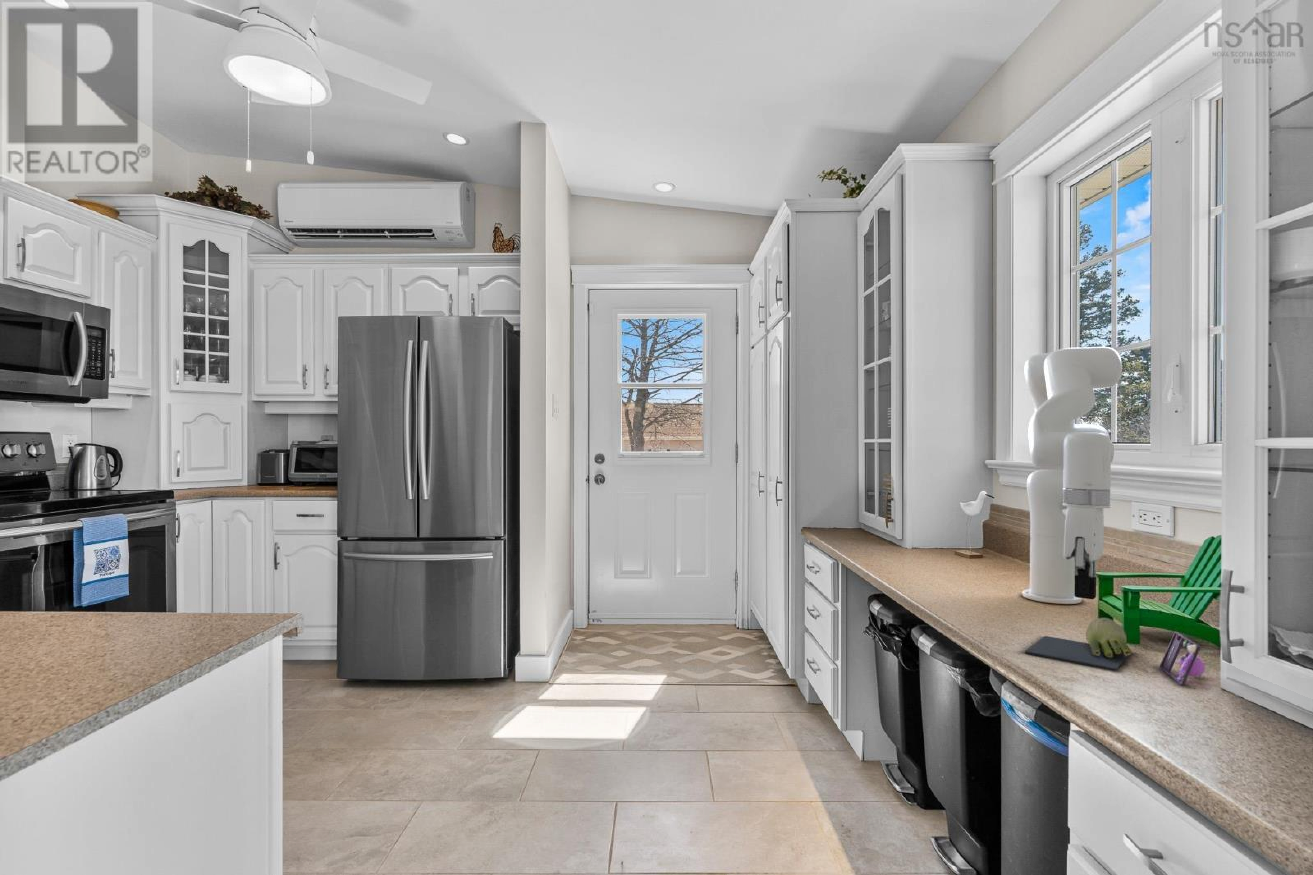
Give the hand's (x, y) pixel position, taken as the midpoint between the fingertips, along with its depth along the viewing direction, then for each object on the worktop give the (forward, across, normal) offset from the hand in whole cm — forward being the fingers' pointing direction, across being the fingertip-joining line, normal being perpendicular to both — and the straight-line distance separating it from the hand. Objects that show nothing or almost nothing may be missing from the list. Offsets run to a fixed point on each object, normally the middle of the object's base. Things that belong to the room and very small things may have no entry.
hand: (1085, 597), depth 131 cm
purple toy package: (+10, +8, +16) cm, 20 cm away
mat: (+9, +5, 0) cm, 11 cm away
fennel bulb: (+6, -5, +2) cm, 8 cm away
